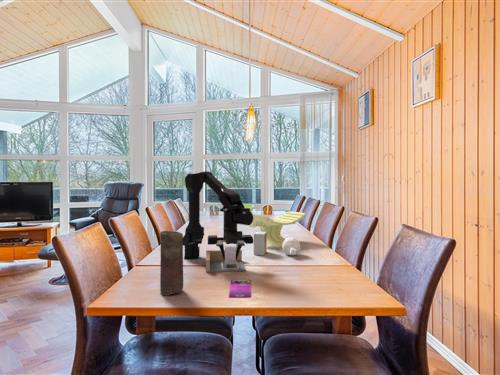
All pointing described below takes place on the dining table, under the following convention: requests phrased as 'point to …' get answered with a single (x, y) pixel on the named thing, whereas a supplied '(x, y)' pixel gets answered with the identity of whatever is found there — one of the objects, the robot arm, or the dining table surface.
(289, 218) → the slatted curved stool
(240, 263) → the corner tray
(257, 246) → the small box
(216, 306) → the dining table surface
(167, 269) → the grey-brown tall block
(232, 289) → the smartphone
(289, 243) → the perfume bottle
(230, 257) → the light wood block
